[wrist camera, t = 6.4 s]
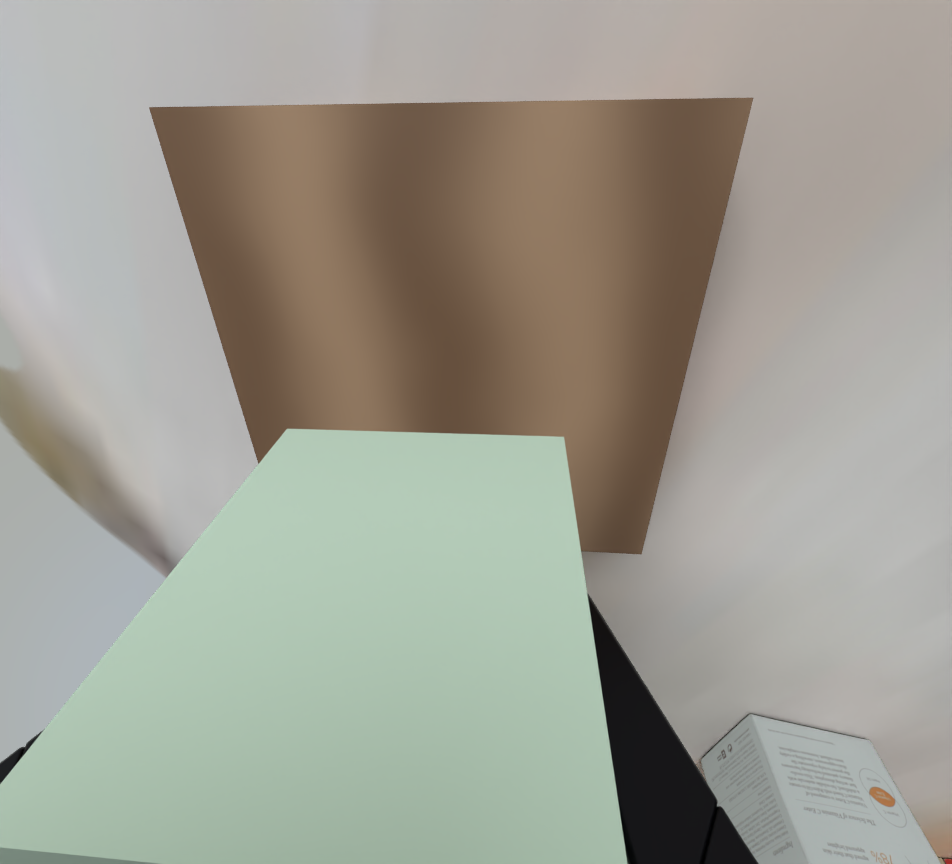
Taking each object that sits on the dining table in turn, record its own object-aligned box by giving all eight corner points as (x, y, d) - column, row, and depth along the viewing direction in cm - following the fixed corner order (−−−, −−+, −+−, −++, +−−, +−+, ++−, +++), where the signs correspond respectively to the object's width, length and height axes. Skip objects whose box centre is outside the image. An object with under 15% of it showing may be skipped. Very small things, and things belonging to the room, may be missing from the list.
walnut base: (696, 107, 14) (752, 98, 10) (622, 487, 21) (641, 554, 18) (234, 114, 15) (148, 107, 11) (317, 474, 22) (280, 534, 19)
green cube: (564, 436, 8) (635, 911, 3) (546, 620, 11) (569, 1043, 6) (286, 428, 9) (-47, 842, 4) (334, 608, 11) (181, 995, 6)
